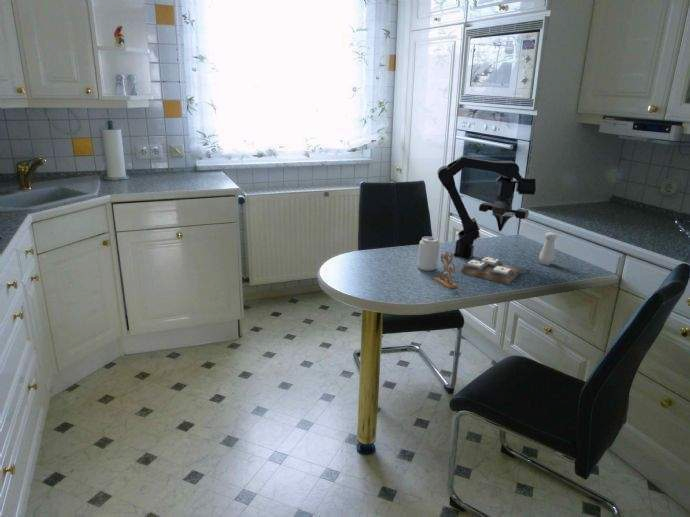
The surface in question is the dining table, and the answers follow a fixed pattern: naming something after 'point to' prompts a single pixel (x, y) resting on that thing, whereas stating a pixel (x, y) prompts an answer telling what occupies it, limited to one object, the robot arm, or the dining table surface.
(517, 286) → the dining table surface
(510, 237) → the dining table surface
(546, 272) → the dining table surface
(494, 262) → the tile two
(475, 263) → the tile three
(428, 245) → the can
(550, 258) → the salt shaker
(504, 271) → the tile one
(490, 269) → the board
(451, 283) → the figurine on base
